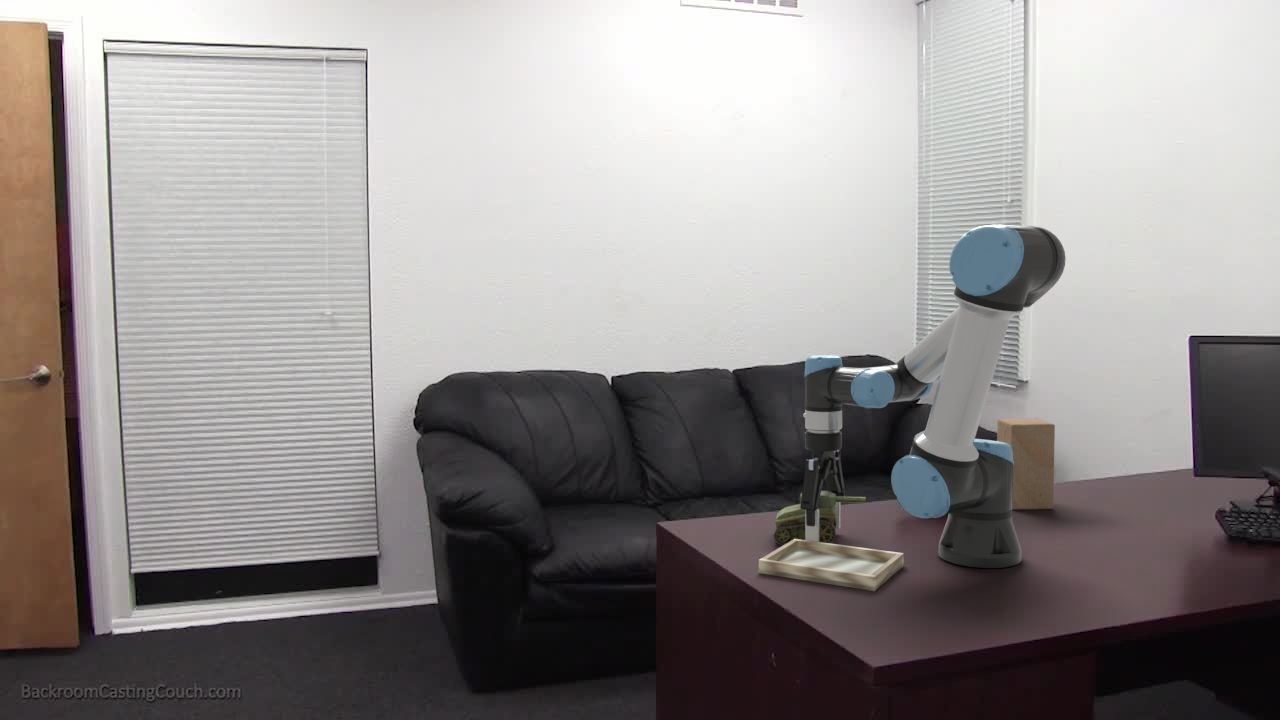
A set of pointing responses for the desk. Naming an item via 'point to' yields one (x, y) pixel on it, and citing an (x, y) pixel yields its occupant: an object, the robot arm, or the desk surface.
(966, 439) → the robot arm
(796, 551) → the beige tray
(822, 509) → the toy
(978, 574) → the desk surface
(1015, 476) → the wooden block
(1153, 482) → the desk surface
